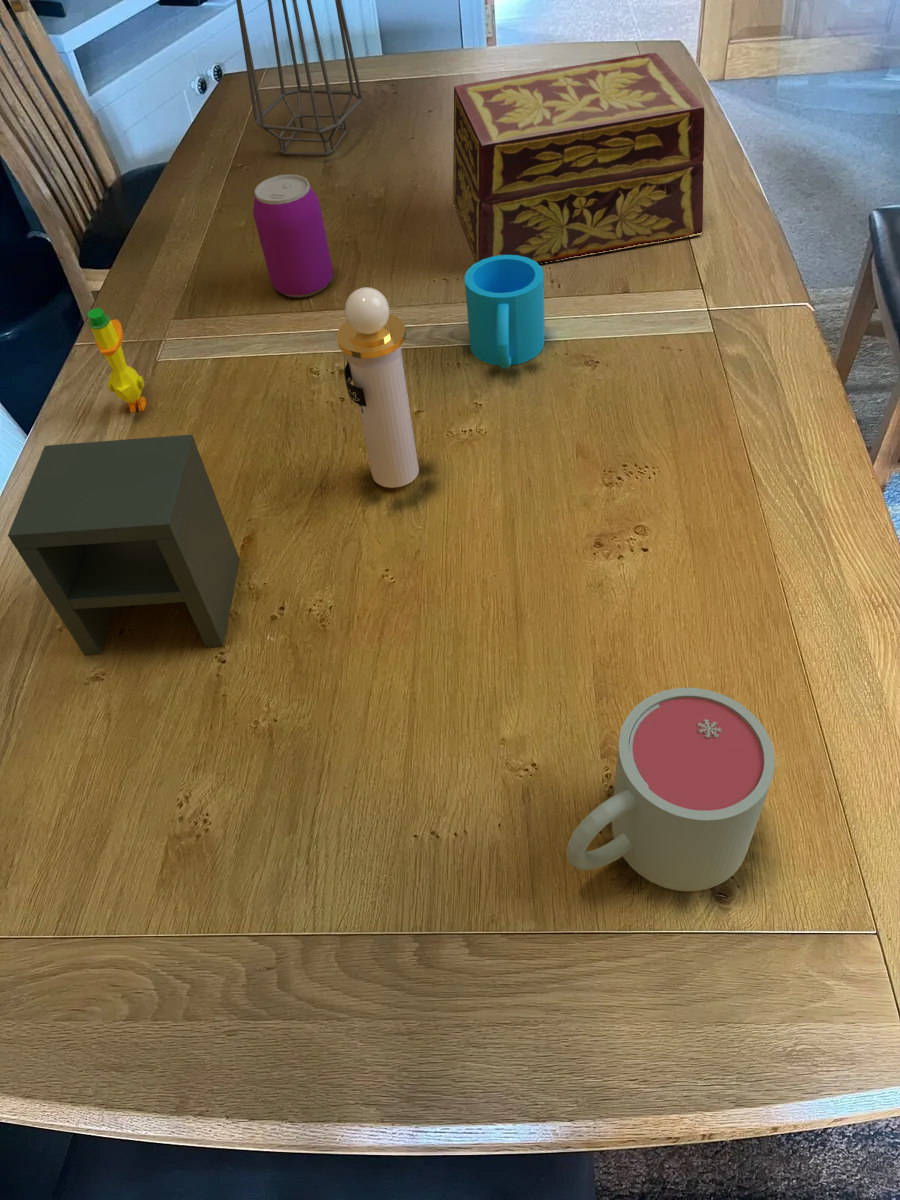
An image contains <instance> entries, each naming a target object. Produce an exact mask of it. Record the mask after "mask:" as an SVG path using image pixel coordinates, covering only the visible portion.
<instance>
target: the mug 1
mask: <svg viewBox="0 0 900 1200" xmlns="http://www.w3.org/2000/svg"><path fill="white" fill-rule="evenodd" d="M464 289H465V300H466V301H465V302H466V311H467V312H466V313H467V323H468V324H467V325H468V337H469V346H470V347H469V348H470V352H471V353H472V354H473V356H474V357H475V358H476V359H478V360H479V361H481V362H483V363H485V364H489V365H492V366H498V367H499V368H501V369H508V368H510V367H511V366H515V365H516V366H517V365H521V364H523V363H527V362H529V361H531V360H533V359H534V358H536V357H538V355H539V354H540V353H541V352H542V350H543V349H544V346H545V342H546V341H545V340H546V338H545V333H546V332H545V274H544V269H543V267H542V266H541V265H539V264H538V263H537V262H536V261H534V260H532V259H530V258H527V257H523V256H518V255H500V256H493V257H489V258H486V259H483V260H481V261H479V262H477V263H476V262H475V263H473V264H472V265H471V266H470V267H469V268H468V269H467V270H466V271H465V275H464Z"/></svg>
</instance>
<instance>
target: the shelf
mask: <svg viewBox="0 0 900 1200" xmlns="http://www.w3.org/2000/svg"><path fill="white" fill-rule="evenodd" d="M7 536H8V539H9V540H10V541H11V543H12V545H13V546H14V548H15V549H16V551H17V552H18V554H19V556H20V557H21V559H22V560H23V562H24V563H25V565H26V566H27V568H28V569H29V571H30V572H31V574H32V576H33V578H34V579H35V580H36V582H37V584H38V585H39V587H40V588H41V590H42V592H43V593H44V594H45V596H46V597H47V600H48V601H49V603H50V604H51V605H52V607H53V609H54V610H55V612H56V613H57V615H58V616H59V618H60V619H61V621H62V623H63V624H64V626H65V627H66V629H67V630H68V632H69V633H70V635H71V637H72V638H73V640H74V642H75V643H76V645H77V646H78V648H79V649H80V651H81V652H82V654H83V655H85V656H88V655H101V654H102V651H103V648H104V644H105V642H106V639H107V634H108V631H109V627H110V624H111V620H112V618H113V614H114V610H115V607H129V606H131V607H132V606H144V605H158V604H160V605H161V604H173V603H174V604H176V603H185V605H186V608H187V610H188V612H189V614H190V616H191V618H192V621H193V622H194V624H195V627H196V629H197V631H198V633H199V635H200V637H201V639H202V642H203V643H204V646H205V648H219V647H224V645H225V639H226V634H227V630H228V625H229V619H230V618H229V617H230V612H231V607H232V603H233V596H234V591H235V585H236V581H237V576H238V575H237V574H238V569H239V564H240V557H239V554H238V551H237V548H236V546H235V543H234V541H233V538H232V535H231V533H230V530H229V528H228V525H227V522H226V519H225V517H224V514H223V512H222V509H221V507H220V504H219V500H218V499H217V496H216V493H215V491H214V488H213V485H212V483H211V480H210V477H209V475H208V473H207V470H206V467H205V464H204V462H203V459H202V456H201V454H200V451H199V449H198V446H197V444H196V440H195V439H194V436H193V434H181V435H180V434H179V435H167V436H154V437H153V436H152V437H141V438H127V439H116V440H115V439H113V440H103V441H88V442H76V443H74V442H73V443H61V444H50V445H49V444H48V445H47V444H46V445H44V447H43V449H42V451H41V454H40V457H39V459H38V461H37V463H36V466H35V468H34V471H33V473H32V476H31V478H30V481H29V483H28V484H27V487H26V490H25V493H24V495H23V498H22V500H21V502H20V505H19V507H18V509H17V512H16V514H15V517H14V519H13V521H12V524H11V527H10V529H9V531H8V534H7Z"/></svg>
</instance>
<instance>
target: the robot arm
mask: <svg viewBox="0 0 900 1200" xmlns="http://www.w3.org/2000/svg"><path fill="white" fill-rule="evenodd" d="M30 1H31V0H9V4H10V7H11V9H12V12H13V13H14V14H17V13H24V12H30V9H29V6H28V3H30Z"/></svg>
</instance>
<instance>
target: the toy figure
mask: <svg viewBox="0 0 900 1200" xmlns="http://www.w3.org/2000/svg"><path fill="white" fill-rule="evenodd" d="M87 317H88V319H89V320H88V326H89V328H90V329H91V331H92V334H93V336H94V338H95V341H94V343H95V345H96V347H97V348H98V350H99V351H100V353H101V355H103V356H104V357H105V359H106V361H107V363H108V364H109V367H111V372H110V376H109V377H108V380H107V387H108V390H109V392H110V393H112V394H113V393H114V394H115V395H116V397H117V398H118V399H120V400H122V401H124V402H125V403H127V406H128V409H129V412H130V413H132V414H133V413H136V411H137V410H138V412H144V411H145V409H146V407H147V404H148V402H147V400H146V397H145V396H141V395H142V393H143V389H144V388H145V379H144V377H143V376H142V375H139V374H138V372H137V370H136V369H135V368H133V367H131V366H129V365H128V364H127V362H126V358H125V355H124V351H123V347H122V345H123V342H124V341H123V340H124V330H123V327H122V324H121V321H120V320H118V319H117V318H115V319H111V317H110V316H109V315H108V314H106V313H105V312H104V310H103V309H102V308H101V307H100V308H99V307H95V308H92V309H90V310H89V311H88V312H87Z"/></svg>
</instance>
